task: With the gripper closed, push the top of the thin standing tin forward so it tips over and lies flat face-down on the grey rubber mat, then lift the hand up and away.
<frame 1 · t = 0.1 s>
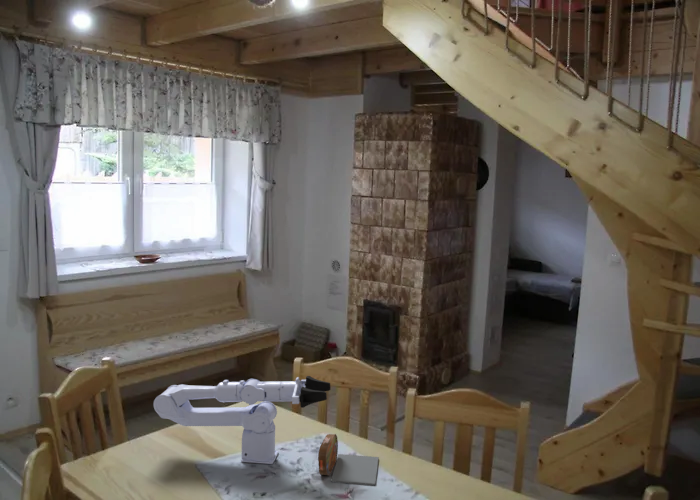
hand: (328, 391, 172), 22 cm above the table, tool horizontal, fingers open, 7 cm apart
tin: (327, 468, 171), on the table
mat: (355, 469, 171), on the table
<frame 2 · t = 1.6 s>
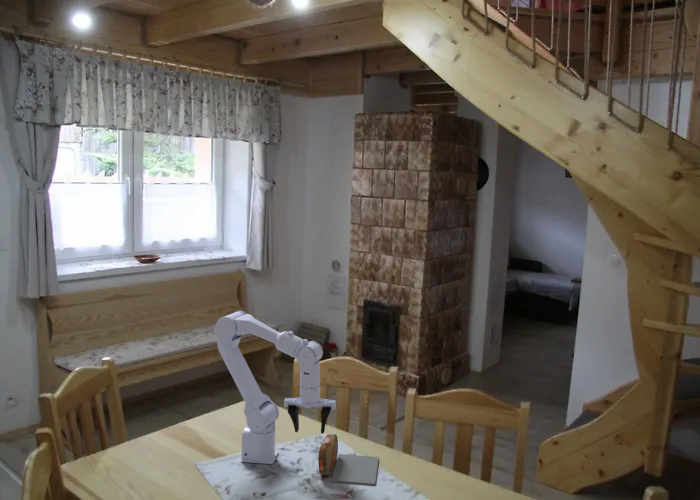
hand: (309, 431, 171), 10 cm above the table, tool pointing down, fingers open, 7 cm apart
nothing on the table moved.
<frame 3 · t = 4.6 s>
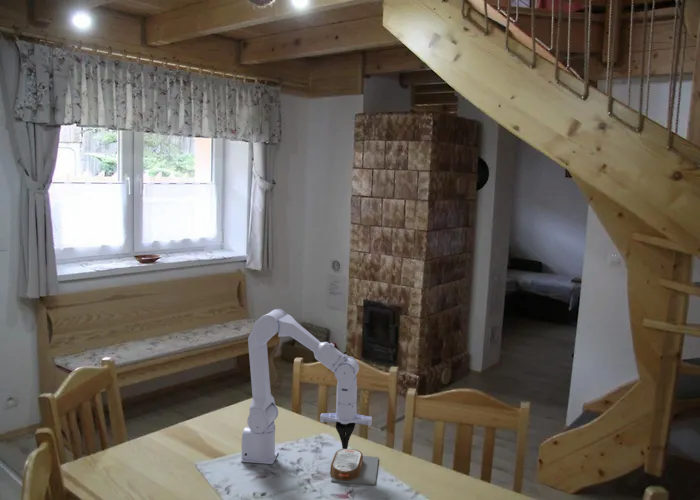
hand: (345, 447, 170), 6 cm above the table, tool pointing down, fingers closed
tin: (332, 461, 171), point 2 cm above the table, touching mat
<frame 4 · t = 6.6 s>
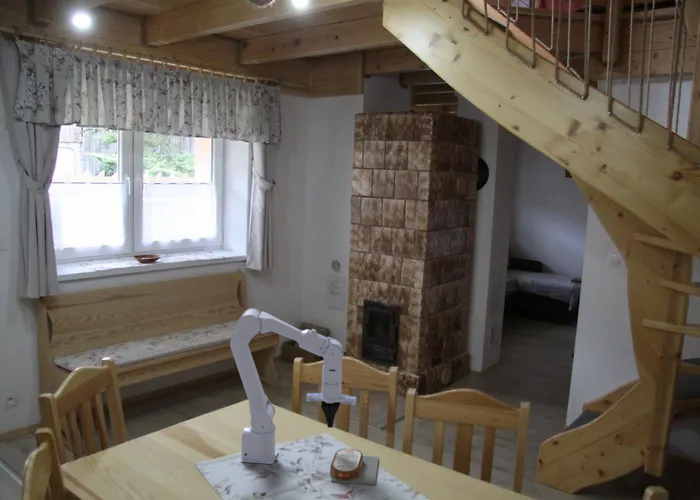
hand: (330, 426, 176), 10 cm above the table, tool pointing down, fingers closed
nothing on the table moved.
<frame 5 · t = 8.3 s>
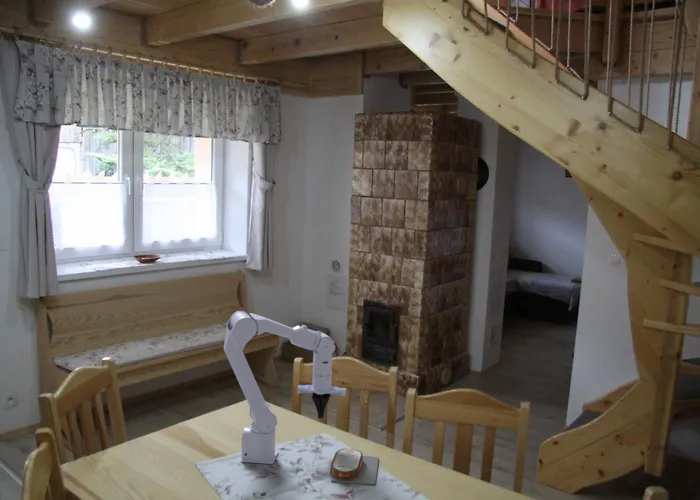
hand: (321, 417, 182), 10 cm above the table, tool pointing down, fingers closed
nothing on the table moved.
at the end: tin tilted 94°; tin touching mat; tin point 2.1 cm above the table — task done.
